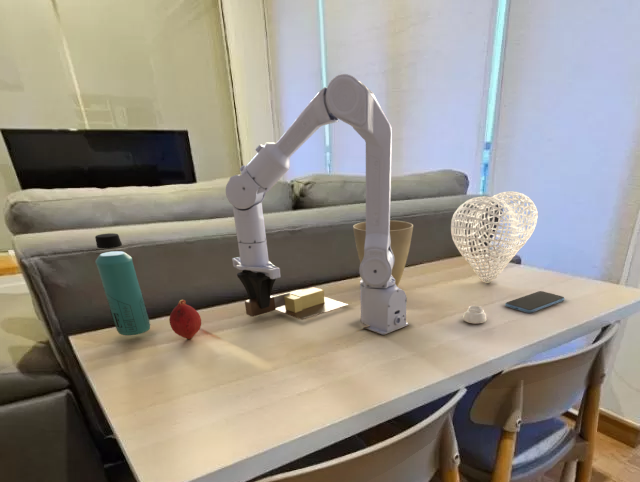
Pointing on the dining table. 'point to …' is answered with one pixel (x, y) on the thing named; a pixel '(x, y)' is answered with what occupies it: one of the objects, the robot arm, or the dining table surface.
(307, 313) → the board
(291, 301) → the butter slice
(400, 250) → the plant pot
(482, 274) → the heart
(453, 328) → the dining table surface
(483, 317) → the white jar
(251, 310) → the knife
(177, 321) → the onion
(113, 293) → the beverage bottle
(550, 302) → the smartphone
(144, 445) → the dining table surface
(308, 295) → the butter block
